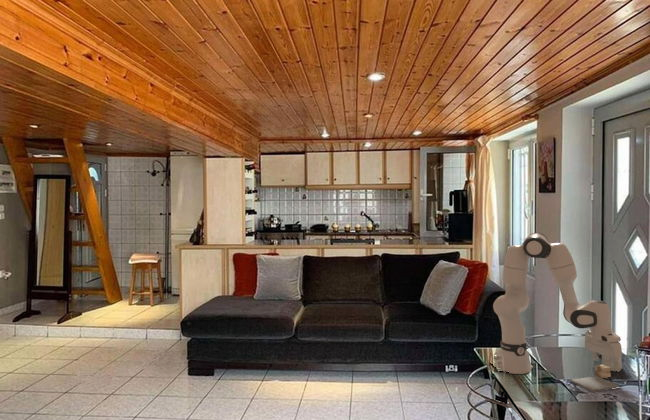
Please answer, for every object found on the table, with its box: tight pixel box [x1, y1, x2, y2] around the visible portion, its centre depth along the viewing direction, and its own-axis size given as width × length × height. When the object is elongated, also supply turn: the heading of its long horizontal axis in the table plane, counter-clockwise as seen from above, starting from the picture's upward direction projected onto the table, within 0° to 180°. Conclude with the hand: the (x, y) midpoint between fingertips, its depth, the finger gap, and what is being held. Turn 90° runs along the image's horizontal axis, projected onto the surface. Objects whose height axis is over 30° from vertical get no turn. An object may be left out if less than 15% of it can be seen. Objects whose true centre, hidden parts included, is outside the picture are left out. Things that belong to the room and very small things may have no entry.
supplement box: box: [601, 355, 623, 373], centre depth 238 cm, size 7×7×13 cm
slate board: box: [570, 376, 621, 393], centre depth 219 cm, size 14×14×1 cm
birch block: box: [594, 364, 612, 379], centre depth 228 cm, size 4×4×5 cm
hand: (603, 363), depth 228 cm, fingers open, 8 cm apart
